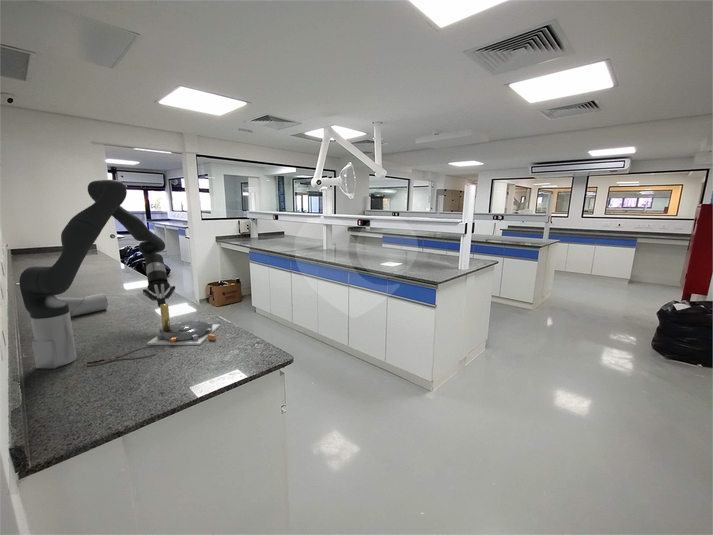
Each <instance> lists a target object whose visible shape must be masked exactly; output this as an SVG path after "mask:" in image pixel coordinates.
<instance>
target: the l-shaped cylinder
mask: <svg viewBox="0 0 713 535" xmlns="http://www.w3.org/2000/svg"><path fill="white" fill-rule="evenodd" d="M55 297H56V298H58V299H59V300H61V301H63V302H66V303H67V304H68V305H69V311H70V318H72V317H77V316H82V315H86V314H91V313H95V312H101V311H103V310H104V311H105V310H107V309H108V308H109V303H108V301H109V300H108V298H107V296H106V295H105V293H97V294H92V295H91V294H90V295H86V296H85V297H57V296H55Z"/></svg>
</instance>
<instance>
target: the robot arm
mask: <svg viewBox="0 0 713 535" xmlns="http://www.w3.org/2000/svg"><path fill="white" fill-rule="evenodd" d="M87 192H88V195H89V196H90V198H91V199H92V201H93V202H94V203H92V204H91V205H89V206H88V207H86V208H85V209H83V210H81V211H80V212H78V213H76V214H75V215H74V216H73V217H72V218H70V220H69V221H68V222H67V224H66V225H65V227H63V229H62V231H61V234H60V241H61V247H62V250H61V253H60V256H59V257H58V258H57V260H56V261H55V263H54V264H52V265H51V266H42V265H41V266H40V265H39V266H30V267H27V268H25V269H23V271H22V272H21V274H20V276H19V280H18V281H19V290H20V294H21V297H22V301H23V304H24V308H25V309H26V311H27V313H29V316H30V322H31V328H32V334H33V338H34V339H33V340H32V341H31V346H32V353H33V359H34V363H35V368H36V369H57V368H59V367H62V366H65V365H68V364H70V363H72V362H74V361H76V359H77V358H78V357H77V353H76V352H77V351H76V345H75V339H74V331H73V326H72V319H71V318H72V317H70V316H71V315H70V311H69V305H68V304H67V303H66V302H63V301H61V300H59V299H58V298H56V297H57V296H59V295H62V294H64V293H65V292H66V291H67V290H68V289H70V287H71V285H72V284H73V282H74V280H75V278H76V276H77V274H78V271H79V270H80V267H81V265H82V263H83V262H84V259H85V258H86V256H87V254H88V253H89V252H90V250H91V249H92V246H93V245H94V244H95V242H96V241H97V239H98V238H99V236H100V234H101V233H102V231H103V229H104V228H105V226H106V225H107V223H108V222H109V220H110V218H111V217H113V219H115V220H116V221H118V223H119V224H121V225H122V226H123V227H124V228H125V230H126V231H127V232H128V233H129V234H130V236H131V237H132V238H133V239H134V240H135V241H137V242H140V243H139V245H138V250H139V252H140V253H141V255H142V257H143V259H144V261H145V267H146V269H145V270H146V277H147V278H146V280H147V288H143V289H142V295H144V296H146V297H147V298H148V299H150V301H152V302H153V301H155V302H157V307H158V308H160V305H161V304H167V303H166V300H168V299H169V298H170V297H171V296H172V294H174V292H175V291H176V286H175V285H173V286H172V285H171V284H170V283H169V280H168V274H167V269H166V267H165V263H164V262H165V261H164V257H163V255H162V254H160V252H163V251H165V249H166V244H165V242H164V241H163V239H162V238H161V237H159V236H158V235H157V234H155V233H153V232H152V231H151V230H150V229H149V228H148V226H147V225H146V224H145V223H144V221H143V220H142V219H140V218H139V217H138V216H136V215H135V214H133V213H132V212H130V211H128V210H127V209H125V208H124V207H122V204H123V203H124V201H125V200H126V197H127V194H128V191H127V187H126V186H125V184H124V182H122V181H120V180H116V179H100V180H93V181H91V182H89V183H88V185H87ZM166 292H167V293H166Z"/></svg>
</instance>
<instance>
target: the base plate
mask: <svg viewBox="0 0 713 535" xmlns="http://www.w3.org/2000/svg"><path fill="white" fill-rule="evenodd" d="M220 326H221V325H220V324H217V323H216V324H215V323H212V327H210V328H212V333H207V334H205V335H203V336H201V337H198V339H197V340H192V339H191V340H185V341H177V342H176V343H170V341H167V340H164V339H161V340H158V339H157V336H154V338H152V339H151V340H149V341H148V342H147V346H161V345H162V346H200V345H202V344H203V343H204V342H205V341H206V340H209V341H215V340H217V335H216V334H213V333H215V331H216V330H218V329H219V328H220Z"/></svg>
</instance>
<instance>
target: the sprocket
mask: <svg viewBox="0 0 713 535" xmlns="http://www.w3.org/2000/svg"><path fill="white" fill-rule="evenodd" d="M159 308H160V318H161V328H159V330H158V331H159V333H160V334H157V335H156V337H157V339H158V340H161V339H164V340H167V341H170V343H176V342H177V341H185V340H191V339H192V340H197V339H198V337H201V336H203V335H205V334H207V333H212V328H210V327H212V324H213V322H211V321H209V322H206V321H201V320H200V319H199V320H198V319H195V320H194V321H184V322H180V321H178V322H175V323H174V324H172V325H171V322H170V312H169V304H168V303H166V304H161V305H160V307H159ZM212 334H213V333H212Z"/></svg>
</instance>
